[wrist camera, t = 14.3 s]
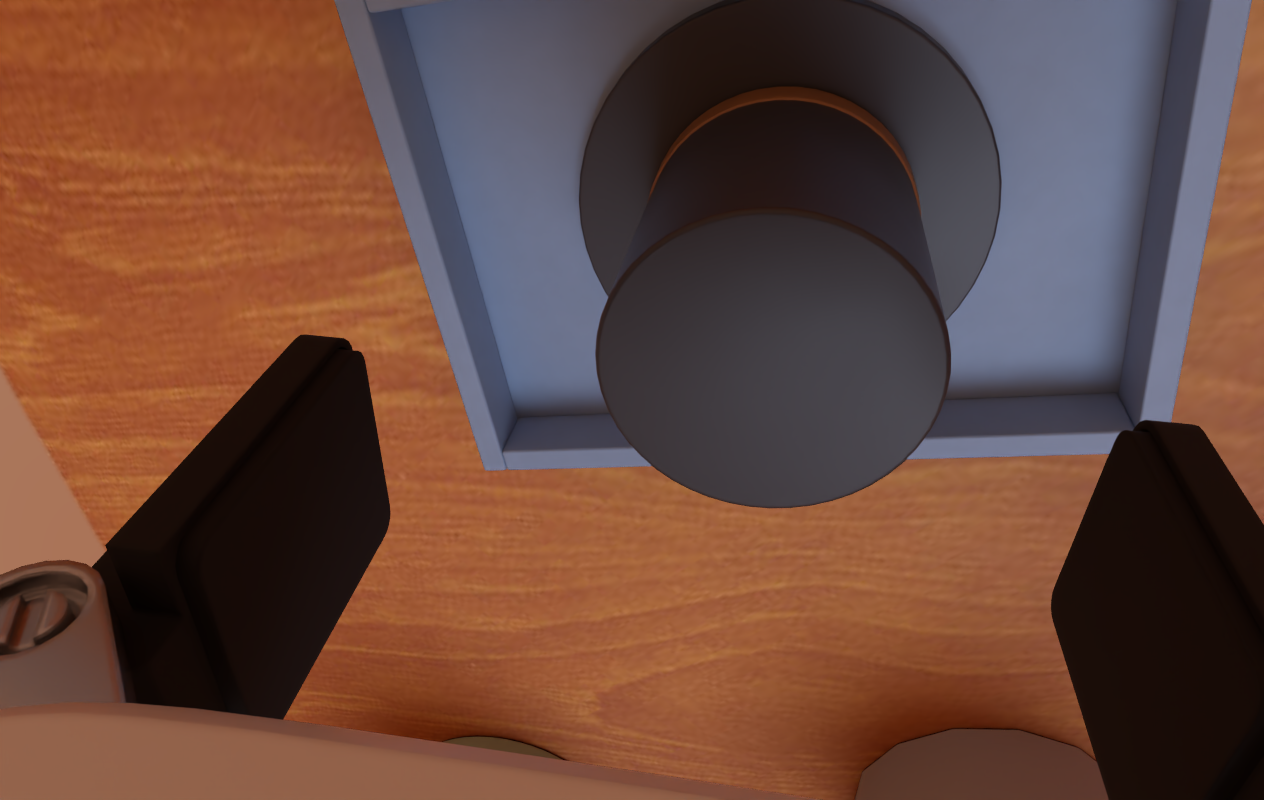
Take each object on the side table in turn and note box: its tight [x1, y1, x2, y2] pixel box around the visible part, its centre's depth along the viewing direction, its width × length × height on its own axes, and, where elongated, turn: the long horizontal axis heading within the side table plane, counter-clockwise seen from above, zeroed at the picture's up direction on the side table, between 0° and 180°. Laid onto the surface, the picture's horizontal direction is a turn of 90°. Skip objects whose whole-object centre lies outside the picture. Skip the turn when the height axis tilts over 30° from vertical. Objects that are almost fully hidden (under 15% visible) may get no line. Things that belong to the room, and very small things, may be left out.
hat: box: [579, 0, 1002, 508], centre depth 16 cm, size 8×8×7 cm
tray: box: [334, 0, 1252, 471], centre depth 18 cm, size 15×11×2 cm
